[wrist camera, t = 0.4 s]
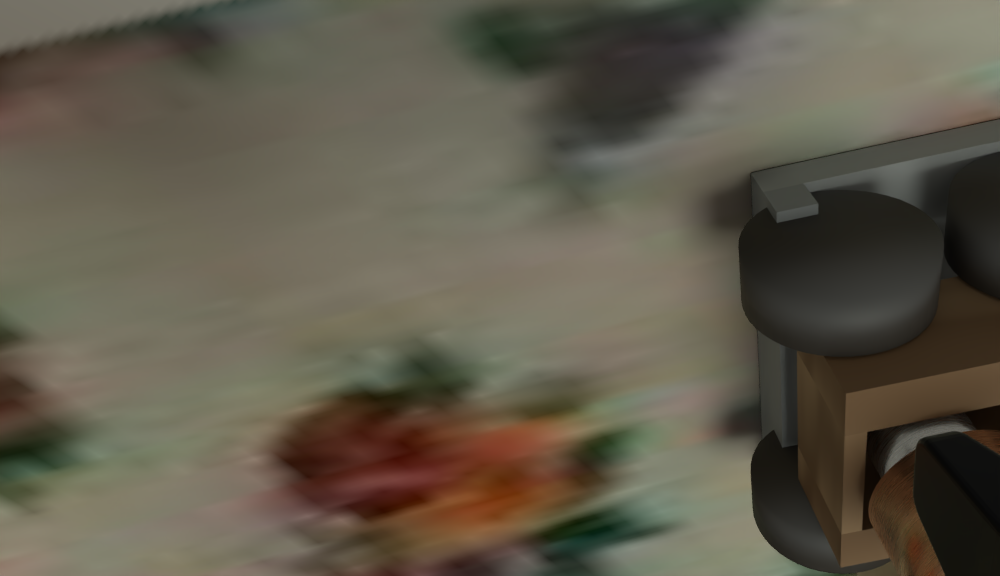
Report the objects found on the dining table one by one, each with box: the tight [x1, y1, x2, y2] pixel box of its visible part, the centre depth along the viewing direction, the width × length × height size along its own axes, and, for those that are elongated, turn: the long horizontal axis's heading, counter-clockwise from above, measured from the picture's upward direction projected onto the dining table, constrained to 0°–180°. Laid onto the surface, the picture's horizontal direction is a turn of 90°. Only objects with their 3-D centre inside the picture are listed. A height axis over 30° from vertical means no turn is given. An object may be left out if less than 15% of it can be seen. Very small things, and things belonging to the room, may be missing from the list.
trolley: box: [739, 152, 1000, 574], centre depth 23 cm, size 9×9×5 cm
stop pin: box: [866, 412, 1000, 576], centre depth 21 cm, size 4×4×9 cm
